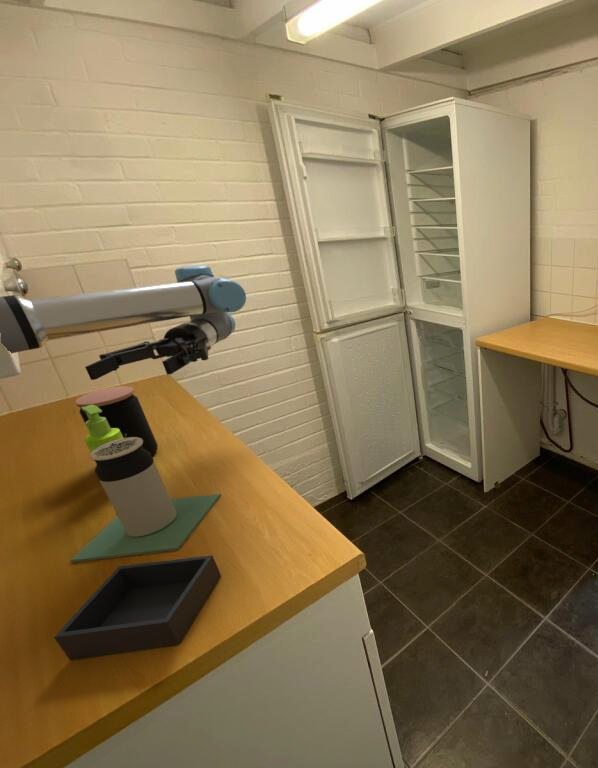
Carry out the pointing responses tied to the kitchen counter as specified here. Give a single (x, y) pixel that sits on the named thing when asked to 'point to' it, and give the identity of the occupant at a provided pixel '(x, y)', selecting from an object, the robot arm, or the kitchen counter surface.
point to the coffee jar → (121, 413)
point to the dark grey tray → (140, 608)
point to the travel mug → (133, 486)
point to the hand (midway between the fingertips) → (128, 370)
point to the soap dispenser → (99, 429)
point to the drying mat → (166, 539)
